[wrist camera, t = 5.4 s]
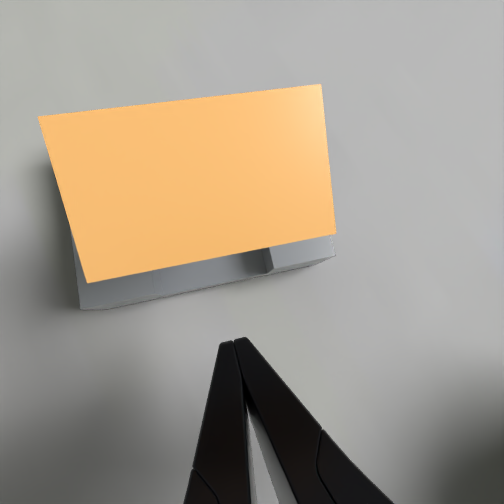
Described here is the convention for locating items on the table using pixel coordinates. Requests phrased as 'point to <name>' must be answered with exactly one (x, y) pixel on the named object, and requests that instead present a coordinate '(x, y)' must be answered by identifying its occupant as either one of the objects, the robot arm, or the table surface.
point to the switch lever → (192, 178)
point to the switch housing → (198, 273)
